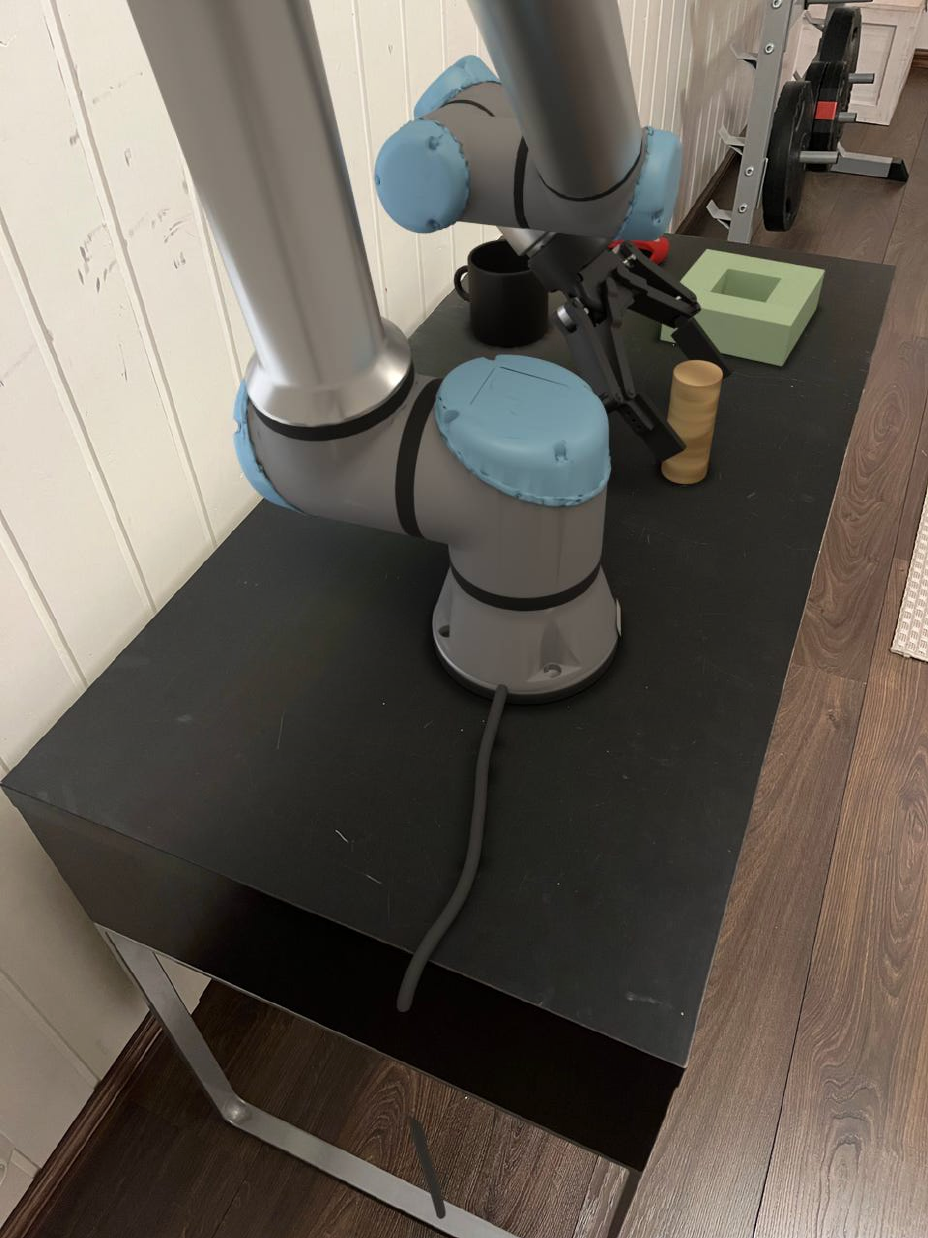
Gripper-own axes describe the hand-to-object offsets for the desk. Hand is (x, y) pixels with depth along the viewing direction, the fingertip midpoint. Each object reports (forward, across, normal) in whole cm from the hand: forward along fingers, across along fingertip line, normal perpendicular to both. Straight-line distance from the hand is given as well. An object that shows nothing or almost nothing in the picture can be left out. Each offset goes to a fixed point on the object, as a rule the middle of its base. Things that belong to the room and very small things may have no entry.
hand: (699, 415), depth 88 cm
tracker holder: (-12, +41, +22) cm, 48 cm away
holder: (+2, +30, +8) cm, 31 cm away
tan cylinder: (+4, 0, +5) cm, 6 cm away
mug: (-17, +18, +26) cm, 36 cm away
